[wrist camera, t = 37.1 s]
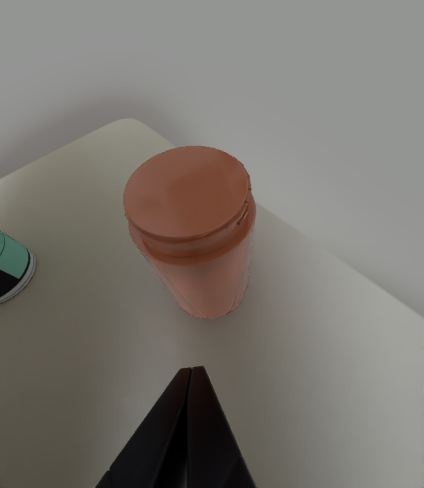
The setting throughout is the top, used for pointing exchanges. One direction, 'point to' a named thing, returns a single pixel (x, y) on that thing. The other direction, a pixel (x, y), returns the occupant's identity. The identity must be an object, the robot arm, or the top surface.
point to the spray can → (14, 267)
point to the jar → (194, 226)
